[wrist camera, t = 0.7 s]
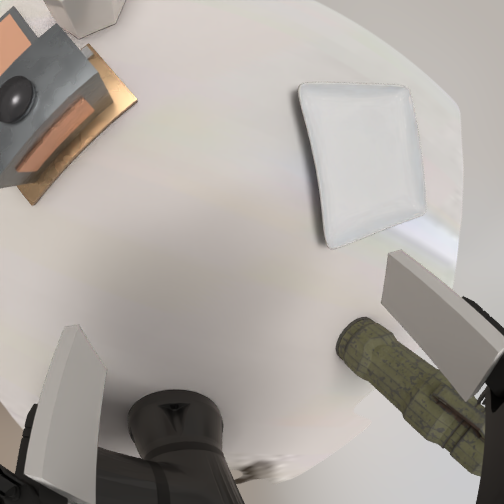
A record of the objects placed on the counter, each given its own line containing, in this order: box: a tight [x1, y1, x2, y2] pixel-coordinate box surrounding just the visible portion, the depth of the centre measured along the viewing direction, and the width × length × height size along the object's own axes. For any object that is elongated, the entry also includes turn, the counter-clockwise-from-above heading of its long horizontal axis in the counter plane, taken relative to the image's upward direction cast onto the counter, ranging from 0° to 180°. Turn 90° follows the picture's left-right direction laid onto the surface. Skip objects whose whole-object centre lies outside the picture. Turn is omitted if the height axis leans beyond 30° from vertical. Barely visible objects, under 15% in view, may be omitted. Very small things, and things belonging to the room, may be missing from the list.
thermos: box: [336, 317, 485, 476], centre depth 30 cm, size 9×12×35 cm
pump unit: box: [0, 23, 137, 205], centre depth 17 cm, size 16×10×12 cm, turn 128°
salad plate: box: [298, 82, 426, 249], centre depth 35 cm, size 21×21×3 cm
